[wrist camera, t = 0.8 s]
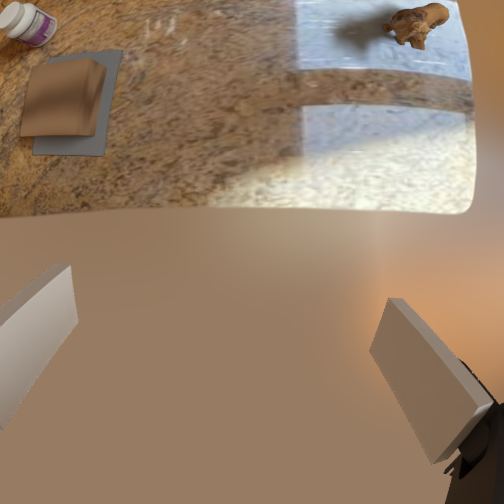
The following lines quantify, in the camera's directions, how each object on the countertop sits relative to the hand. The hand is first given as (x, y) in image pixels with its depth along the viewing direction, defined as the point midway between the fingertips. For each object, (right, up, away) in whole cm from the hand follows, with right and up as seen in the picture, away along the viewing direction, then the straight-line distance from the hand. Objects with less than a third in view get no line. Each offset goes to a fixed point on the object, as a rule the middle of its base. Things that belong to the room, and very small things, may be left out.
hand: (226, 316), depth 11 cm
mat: (-22, +22, +18) cm, 36 cm away
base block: (-22, +22, +18) cm, 36 cm away
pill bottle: (-29, +34, +14) cm, 47 cm away
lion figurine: (+23, +33, +17) cm, 43 cm away
